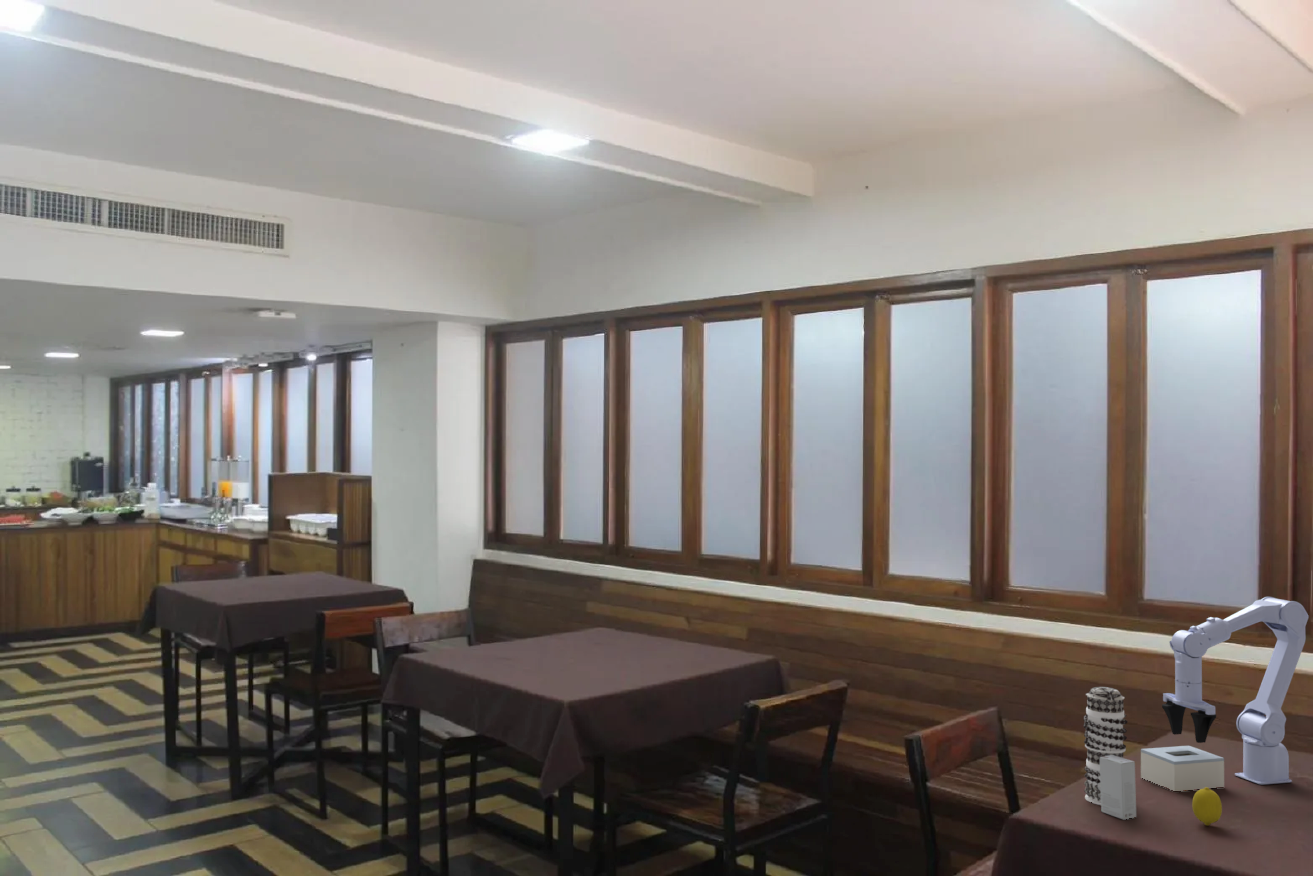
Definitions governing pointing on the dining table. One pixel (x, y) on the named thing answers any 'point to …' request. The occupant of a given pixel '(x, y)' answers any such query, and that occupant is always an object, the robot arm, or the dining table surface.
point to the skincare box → (1118, 787)
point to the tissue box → (1182, 768)
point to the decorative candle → (1102, 735)
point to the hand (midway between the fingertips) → (1188, 738)
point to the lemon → (1207, 806)
